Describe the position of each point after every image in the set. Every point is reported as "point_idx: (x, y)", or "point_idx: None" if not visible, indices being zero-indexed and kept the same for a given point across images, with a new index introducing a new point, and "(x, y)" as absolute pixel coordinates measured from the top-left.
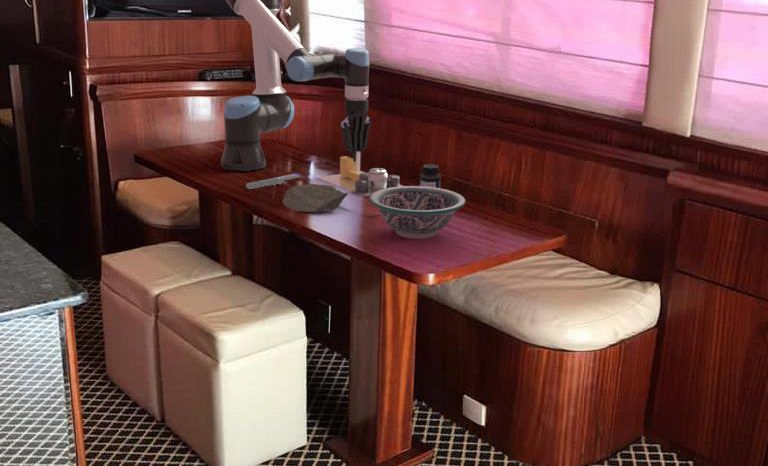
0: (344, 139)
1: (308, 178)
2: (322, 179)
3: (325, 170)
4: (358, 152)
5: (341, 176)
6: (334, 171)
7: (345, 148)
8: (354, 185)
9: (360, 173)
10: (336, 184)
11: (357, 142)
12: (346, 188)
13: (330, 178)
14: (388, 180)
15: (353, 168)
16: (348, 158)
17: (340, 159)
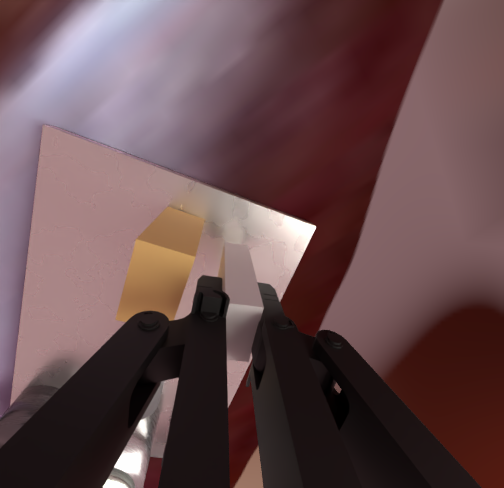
0: (32, 434)
1: (43, 39)
2: (37, 174)
3: (275, 5)
4: (229, 356)
5: None
6: (285, 76)
7: (128, 323)
8: (84, 346)
9: None
10: (28, 287)
11: (265, 400)
12: (19, 351)
13: (88, 197)
14: (164, 448)
15: (221, 263)
16: (145, 309)
17: (140, 236)
